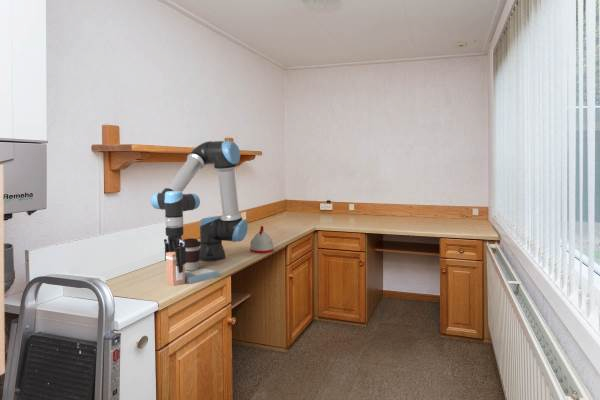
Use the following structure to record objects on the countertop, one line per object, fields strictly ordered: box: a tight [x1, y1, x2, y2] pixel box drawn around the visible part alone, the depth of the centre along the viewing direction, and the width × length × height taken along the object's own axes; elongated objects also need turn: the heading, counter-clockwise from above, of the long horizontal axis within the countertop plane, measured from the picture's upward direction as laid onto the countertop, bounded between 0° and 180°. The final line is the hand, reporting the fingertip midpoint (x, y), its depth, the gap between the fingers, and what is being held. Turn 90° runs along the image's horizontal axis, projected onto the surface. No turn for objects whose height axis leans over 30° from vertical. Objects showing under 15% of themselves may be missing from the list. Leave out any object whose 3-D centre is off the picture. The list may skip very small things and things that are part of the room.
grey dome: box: [249, 225, 274, 254], centre depth 266 cm, size 14×14×15 cm
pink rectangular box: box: [165, 251, 186, 287], centre depth 196 cm, size 6×5×14 cm
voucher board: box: [184, 267, 220, 285], centre depth 206 cm, size 17×10×3 cm, turn 139°
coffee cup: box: [182, 238, 201, 272], centre depth 222 cm, size 10×10×15 cm
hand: (175, 278), depth 197 cm, fingers closed on pink rectangular box, 5 cm apart
